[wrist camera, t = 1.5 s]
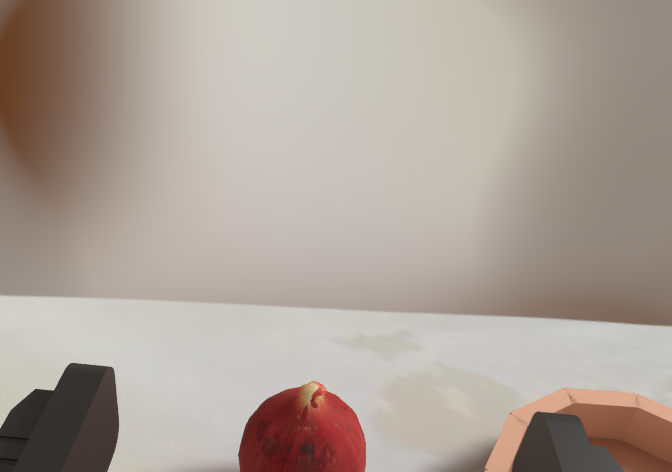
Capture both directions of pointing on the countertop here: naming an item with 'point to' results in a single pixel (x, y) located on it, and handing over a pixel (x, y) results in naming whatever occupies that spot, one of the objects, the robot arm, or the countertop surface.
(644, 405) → the bowl
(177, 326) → the countertop surface
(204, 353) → the countertop surface
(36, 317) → the countertop surface
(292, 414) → the onion
